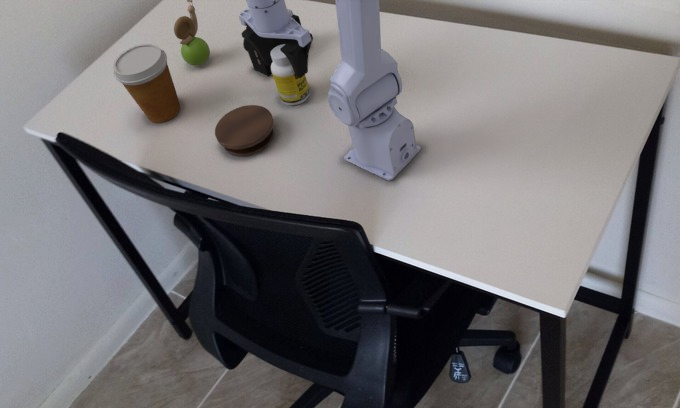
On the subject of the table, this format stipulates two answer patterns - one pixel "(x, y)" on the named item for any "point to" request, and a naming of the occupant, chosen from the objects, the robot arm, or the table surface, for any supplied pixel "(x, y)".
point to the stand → (245, 130)
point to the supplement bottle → (287, 79)
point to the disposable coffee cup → (148, 81)
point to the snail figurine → (191, 39)
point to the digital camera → (256, 58)
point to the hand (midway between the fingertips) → (286, 68)
